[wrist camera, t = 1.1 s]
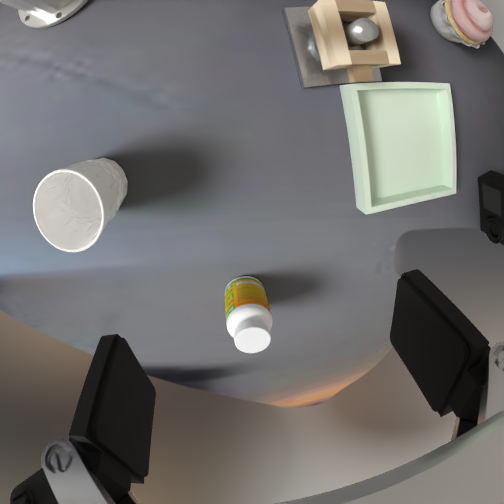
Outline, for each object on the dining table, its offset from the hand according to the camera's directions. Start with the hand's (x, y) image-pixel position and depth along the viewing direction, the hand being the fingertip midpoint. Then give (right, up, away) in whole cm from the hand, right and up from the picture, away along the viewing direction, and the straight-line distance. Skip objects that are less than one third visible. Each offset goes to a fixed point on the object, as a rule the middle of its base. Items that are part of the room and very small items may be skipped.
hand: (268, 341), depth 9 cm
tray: (+19, +17, +24) cm, 35 cm away
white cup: (-18, +11, +22) cm, 31 cm away
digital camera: (+39, +12, +29) cm, 51 cm away
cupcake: (+27, +36, +16) cm, 48 cm away
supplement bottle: (-2, -2, +31) cm, 31 cm away
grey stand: (+9, +27, +18) cm, 33 cm away
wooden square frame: (+9, +25, +14) cm, 30 cm away
